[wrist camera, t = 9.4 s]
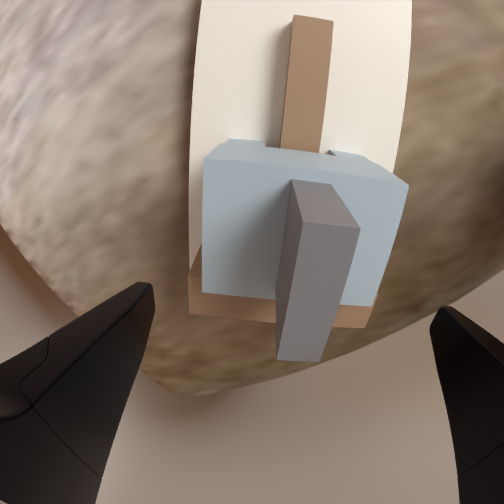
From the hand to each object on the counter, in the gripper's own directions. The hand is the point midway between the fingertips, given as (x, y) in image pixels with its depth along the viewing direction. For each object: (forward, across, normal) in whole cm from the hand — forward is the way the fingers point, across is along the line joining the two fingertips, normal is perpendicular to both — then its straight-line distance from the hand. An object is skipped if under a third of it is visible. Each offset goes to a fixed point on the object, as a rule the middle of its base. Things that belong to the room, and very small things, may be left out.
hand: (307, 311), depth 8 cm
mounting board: (+12, 0, -6) cm, 13 cm away
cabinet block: (+10, 0, 0) cm, 10 cm away
